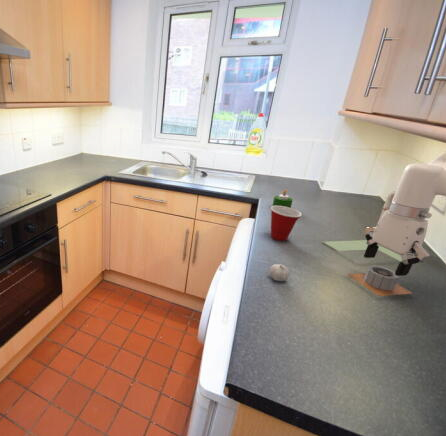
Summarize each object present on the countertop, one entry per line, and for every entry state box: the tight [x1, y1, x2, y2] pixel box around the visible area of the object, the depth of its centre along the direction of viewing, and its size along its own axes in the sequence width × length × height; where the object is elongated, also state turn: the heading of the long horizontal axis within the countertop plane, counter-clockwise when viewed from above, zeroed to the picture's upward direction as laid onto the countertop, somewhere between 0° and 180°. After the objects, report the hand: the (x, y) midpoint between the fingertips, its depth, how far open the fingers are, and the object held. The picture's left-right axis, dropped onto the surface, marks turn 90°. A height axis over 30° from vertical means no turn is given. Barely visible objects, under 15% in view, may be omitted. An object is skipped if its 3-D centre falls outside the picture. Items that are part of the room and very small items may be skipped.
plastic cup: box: [270, 205, 303, 242], centre depth 115 cm, size 11×11×12 cm
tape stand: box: [346, 271, 414, 297], centre depth 87 cm, size 11×11×4 cm
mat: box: [322, 239, 403, 262], centre depth 108 cm, size 20×16×1 cm
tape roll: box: [363, 265, 400, 290], centre depth 87 cm, size 7×7×4 cm
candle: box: [271, 189, 294, 208], centre depth 148 cm, size 8×8×10 cm
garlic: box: [269, 263, 291, 282], centre depth 89 cm, size 6×5×5 cm
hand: (383, 265), depth 86 cm, fingers open, 9 cm apart
